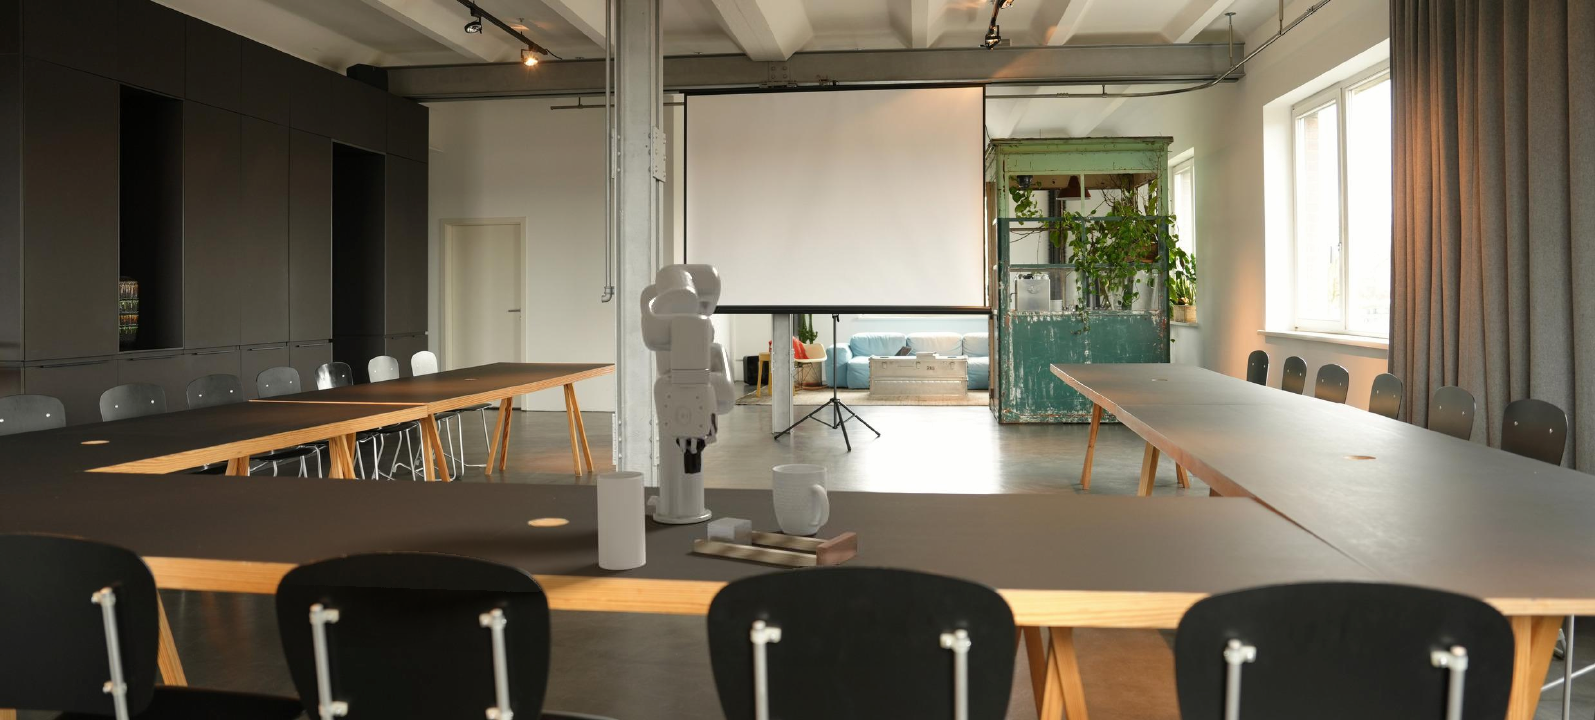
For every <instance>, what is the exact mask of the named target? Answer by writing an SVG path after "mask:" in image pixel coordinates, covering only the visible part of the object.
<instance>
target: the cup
mask: <svg viewBox="0 0 1595 720" xmlns="http://www.w3.org/2000/svg"><path fill="white" fill-rule="evenodd" d="M596 484H597V485H596V486H597V487H596V491H597V492H596V493H597V497H596V498H597V529H598V530H597V537H598V540H597V541H598V566H599V567H600V568H601V569H605V570H612V571H618V570H619V571H621V570H623V571H624V570H632V569H636V568H640V567H642V566H644V565H645V564H646V563H647V562H646V559H647V558H646V515H645V514H646V512H645V511H646V510H645V509H646V507H645V474H644V473H643V472H640V471H634V470H633V471H630V470H628V471H627V470H623V471H622V470H620V471H619V470H618V471H608V472H603V473H599V474H597V476H596Z"/></svg>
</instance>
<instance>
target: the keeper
mask: <svg viewBox="0 0 1595 720" xmlns="http://www.w3.org/2000/svg"><path fill="white" fill-rule="evenodd" d="M752 531H753V530H752V520H751V519H750V520H749V519H744V518H734V517H728V516H727V517H726V516H725V517H722V518H720V519H716V520H713V521H710V522H708V523H707V540H708V541H715V542H722V543H730V544H737V545H745V546H752V544H753V543H752ZM752 547H753V546H752Z"/></svg>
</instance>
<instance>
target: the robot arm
mask: <svg viewBox="0 0 1595 720" xmlns="http://www.w3.org/2000/svg"><path fill="white" fill-rule="evenodd" d="M721 280H722V279H721V277H720V273H719V271H718V270H717V269H716V268H715V267H714V266H713V265H711V264H708V263H707V264H706V263H696V264H695V263H677V264H676V263H674V264H669V265H665V266H663V267H661V268H660V269H659V270H658V272H657V273H656V276H655V281H654V283H653V284H650V285H648V286H646V287H644V289H643V290H642V292H641V294H640V298H639V299H640V300H639V304H640V305H639V306H640V315H641V316H640V317H641V318H640V319H641V320H640V327H641V335H642V341H643V343H644V346H645V347H646V348H647V349H648V350H650V351H652V352H655V353H654V354H655V358H656V359H655V361H656V365H657V366H656V367H657V372H658V375H659V377H658V378H657V379H656V381H655V382H654V386H653V398H654V403H655V404H654V406H655V410H656V417H657V429H658V431H657V432H658V456H659V457H658V467H659V469H658V470H659V475H658V476H659V496H658V495H650V497H649V499H648V500H647V502H646V503H647V506H649V507H655V511H654V512H653V513H652V519H653V521H655V522H659V523H662V524H663V523H664V524H671V525H672V524H674V525H675V524H676V525H677V524H679V525H681V524H683V525H684V524H685V525H686V524H696V523H700V522H704V521H708V520H709V519H711V518H712V511H711V510H710V509H708V508H705V479H704V478H705V474H704V473H705V471H704V468H705V467H704V450H705V448H706V447H707V446H709V445H711V444H716V443H717V439H718V438H717V434H718V432H719V431H718V430H719V419H718V417H719V416H724V415H728V414H730V413H731V412H732V411H733V410H734V408H735V406H736V401H737V399H736V398H737V394H736V387H735V382H734V376H733V373H732V369H731V368H732V367H731V364H730V360H729V359H730V358H729V355H728V352H727V349H726V348H725V347H724V345H722V344H720V343H718V342H714V341H715V324H714V322H713V321H711V318H710V317H711V316H712V315H713V314H714V312H715V310H716V308H717V307H716V306H717V304H718V302H719V299H720V295H721V289H722V282H721Z"/></svg>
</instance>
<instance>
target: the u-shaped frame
mask: <svg viewBox="0 0 1595 720" xmlns="http://www.w3.org/2000/svg"><path fill="white" fill-rule="evenodd" d="M752 544H757V545H766V546H772V547H778V548H787V549H793V550H800V551H802V550H803V551H810V552H815V553H816V554H809V553H803V552H802V553H801V552H797V551H786V550H780V549H773V548H765V547H758V546H745V545H737V544H730V543H722V542H715V541H708V539H699V538H698V539H696V540H694V541H693V551H694V552H695V553H701V554H708V555H716V556H723V557H730V558H736V559H743V560H751V561H757V562H763V563H765V562H766V563H771V564H777V565H778V564H779V565H784V566H785V565H786V566H792V567H799V566H815V565H833V564H838V565H840V564H842V563H844V562H846V561H848V560H851V559H852V558H854V557H856V556H857V555H858V533H857V532H851V531H846V532H845V533H842V534H840V535H838V536H836V537H834V538H831V539H829V540H827V539H821V538H814V537H813V538H812V537H806V536H805V537H804V536H794V535H788V534H784V533H783V534H782V533H773V532H766V531H757V530H752ZM799 568H800V567H799Z"/></svg>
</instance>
